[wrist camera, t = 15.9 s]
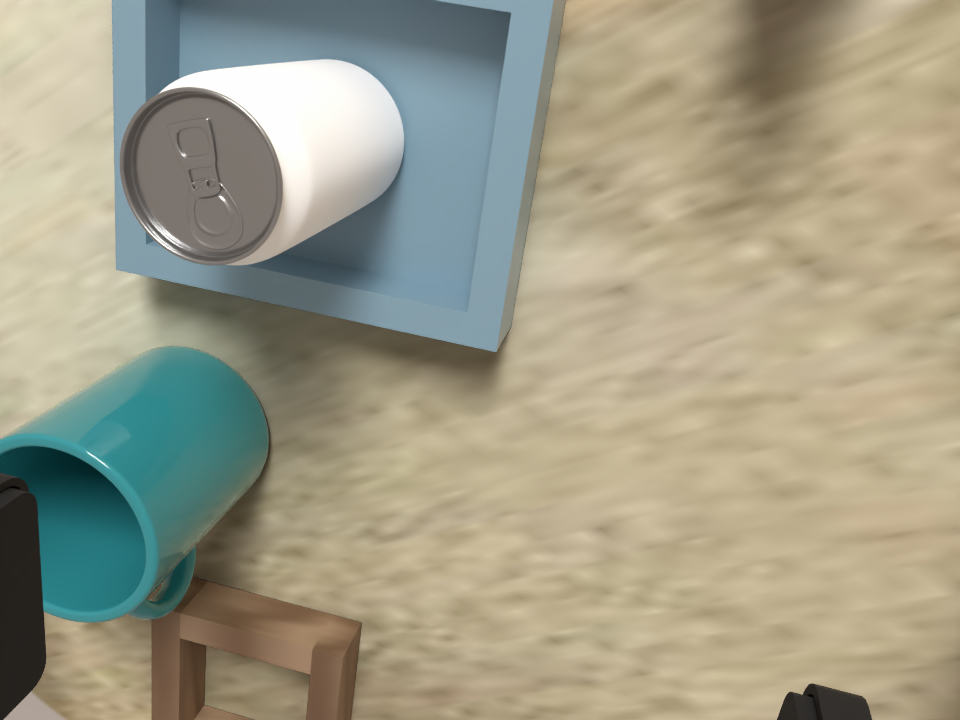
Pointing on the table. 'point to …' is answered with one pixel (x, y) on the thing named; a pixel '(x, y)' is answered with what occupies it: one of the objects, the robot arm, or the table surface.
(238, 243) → the can
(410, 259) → the tray
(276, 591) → the table surface
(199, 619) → the holder
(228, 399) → the cup
